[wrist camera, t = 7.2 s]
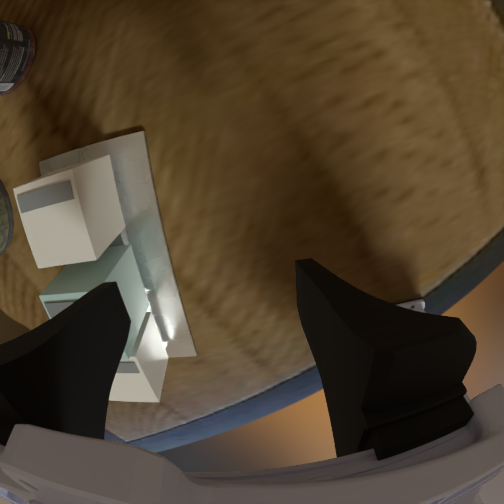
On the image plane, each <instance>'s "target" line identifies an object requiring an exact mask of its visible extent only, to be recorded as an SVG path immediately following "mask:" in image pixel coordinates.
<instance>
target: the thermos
mask: <svg viewBox="0 0 504 504" xmlns="http://www.w3.org/2000/svg"><path fill="white" fill-rule="evenodd" d="M13 226H14V222H13V212H12V207H11V203H10V200H9V196H8V193H7V191H6V189H5V187H4V185H3V183H2V181H1V180H0V255H1V254H2V253H3V252H4V251H5V250H6V249H7V248H8V247H9V244H10V242H11V239H12V236H13Z"/></svg>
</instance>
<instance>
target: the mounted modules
mask: <svg viewBox="0 0 504 504" xmlns="http://www.w3.org/2000/svg"><path fill="white" fill-rule="evenodd" d="M13 190H14V194H15V198H16V202H17V206H18V209H19V213H20V216H21V220H22V223H23V226H24V229H25V233H26V236H27V239H28V242H29V245H30V247H31V250H32V253H33V256H34V258H35V261H36V264H37V266H38V268H45V267H52V266H59V265H66V264H73V263H80V262H87V261H95V260H97V259H98V258H99V257H100V256H101V255H102V253H103V252H104V251H105V250H106V249H107V247H108V246H109V245H110V244H111V243H112V242H113V240H114V239H115V238H116V237H117V236H118V235H119V234H120V233H121V231H122V230H123V229H124V228H125V227H126V226H125V222H124V218H123V214H122V210H121V206H120V202H119V198H118V193H117V189H116V184H115V180H114V175H113V170H112V165H111V160H110V155H106V156H102V157H99V158H95V159H91V160H88V161H84V162H81V163H78V164H74V165H71V166H68V167H64V168H61V169H58V170H55V171H53V172H50V173H48V174H45V175H43V176H41V177H38V178H36V179H34V180H31V181H29V182H27V183H25V184H23V185H20V186H18V187H16V188H14V189H13ZM168 358H169V357H168V355H167V352H166V350H165V347H164V344H163V342H162V339H161V337H160V334H159V331H158V329H157V326H156V323H155V320H154V317H153V315H152V312H146V314H145V317H144V319H143V322H142V324H141V327H140V330H139V332H138V335H137V338H136V341H135V343H134V346H133V349H132V352H131V355H130V357H129V360H120V363H119V366H118V369H117V372H116V375H115V378H114V381H113V384H112V387H111V391H110V396H109V400H112V401H131V402H159V401H160V396H161V391H162V386H163V381H164V376H165V371H166V367H167V362H168Z"/></svg>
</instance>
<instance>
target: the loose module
mask: <svg viewBox="0 0 504 504" xmlns="http://www.w3.org/2000/svg"><path fill="white" fill-rule="evenodd" d="M114 281H116V282H117V285H118V288H119V290H120V293H121V296H122V298H123V301H124V304H125V306H126V309H127V312H128V314H129V317H130V319H131V325H130V331H129V335H128V340H127V343H126V346H125V349H124V352H123V355H122V358H121V360H129V357H130V355H131V352H132V349H133V346H134V343H135V341H136V338H137V335H138V332H139V330H140V327H141V324H142V322H143V319H144V317H145V314H146V311H147V309H148V306H149V302H148V299H147V296H146V292H145V289H144V286H143V283H142V280H141V277H140V273H139V270H138V267H137V263H136V260H135V257H134V253H133V249H132V246H131V244H128V245H121V246H115V247H108V248H107V249H106V250H105V251H104V252H103V253H102V255H101V256H100V257H99V258H98V259H97V260H95V261H87V262H80V263H73V264H67V265H66V266H65V267H64V268H63V269H62V270H61V271H60V272H59V274H58V275H57V276H56V277H55V278H54V279H53V280H52V281H51V282H50V283H49V285H48V286H47V287H46V288H45V289H44V290H43V291H42V293H41V294H40V295H39V297H40V299H41V301H42V303H43V306H44V308H45V310H46V312H47V314H48V316H49V318H50V319H51V318H52V317H54V316H55V315H57V314H58V313H60V312H61V311H62V310H64V309H65V308H67V307H68V306H70V305H71V304H72V303H74V302H75V301H76V300H78V299H79V298H81V297H82V296H83V295H85V294H86V293H88V292H89V291H90V290H92V289H93V288H95V287H97V286H98V285H100V284H102V283H104V282H114Z"/></svg>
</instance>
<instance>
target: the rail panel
mask: <svg viewBox="0 0 504 504" xmlns="http://www.w3.org/2000/svg"><path fill="white" fill-rule="evenodd" d="M106 155H110V160H111V165H112V170H113V175H114V180H115V184H116V189H117V193H118V198H119V202H120V206H121V210H122V214H123V218H124V222H125V226H126V227H125V228H124V229H123V230H122V231H121V233H120V234H119V235H118V236H117V237H116V238H115V239H114V240H113V242H112V243H111V244H110V245H109V246H108V247H115V246H121V245H128V244H131V246H132V249H133V253H134V257H135V260H136V263H137V267H138V270H139V273H140V277H141V280H142V283H143V286H144V289H145V292H146V296H147V299H148V302H149V306H148V309H147V311H146V312H152V315H153V317H154V320H155V323H156V326H157V329H158V331H159V334H160V337H161V339H162V342H163V344H164V347H165V350H166V352H167V355H168V357H188V356H197V350H196V347H195V343H194V340H193V337H192V334H191V330H190V327H189V323H188V320H187V317H186V313H185V310H184V306H183V303H182V299H181V295H180V292H179V288H178V284H177V280H176V277H175V273H174V269H173V265H172V261H171V257H170V253H169V248H168V244H167V240H166V236H165V231H164V227H163V222H162V218H161V213H160V209H159V204H158V199H157V194H156V189H155V184H154V179H153V173H152V168H151V162H150V157H149V151H148V145H147V139H146V132H145V131H141V132H137V133H132V134H128V135H124V136H120V137H117V138H113V139H109V140H105V141H102V142H98V143H95V144H91V145H88V146H85V147H82V148H78V149H75V150H72V151H69V152H66V153H63V154H60V155H57V156H54V157H52V158H49V159H46V160H43V161H41V162H39V167H40V172H41V176H43V175H45V174H48V173H50V172H53V171H55V170H58V169H61V168H64V167H68V166H71V165H74V164H78V163H81V162H84V161H88V160H91V159H95V158H99V157H102V156H106ZM108 247H107V248H108Z"/></svg>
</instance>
